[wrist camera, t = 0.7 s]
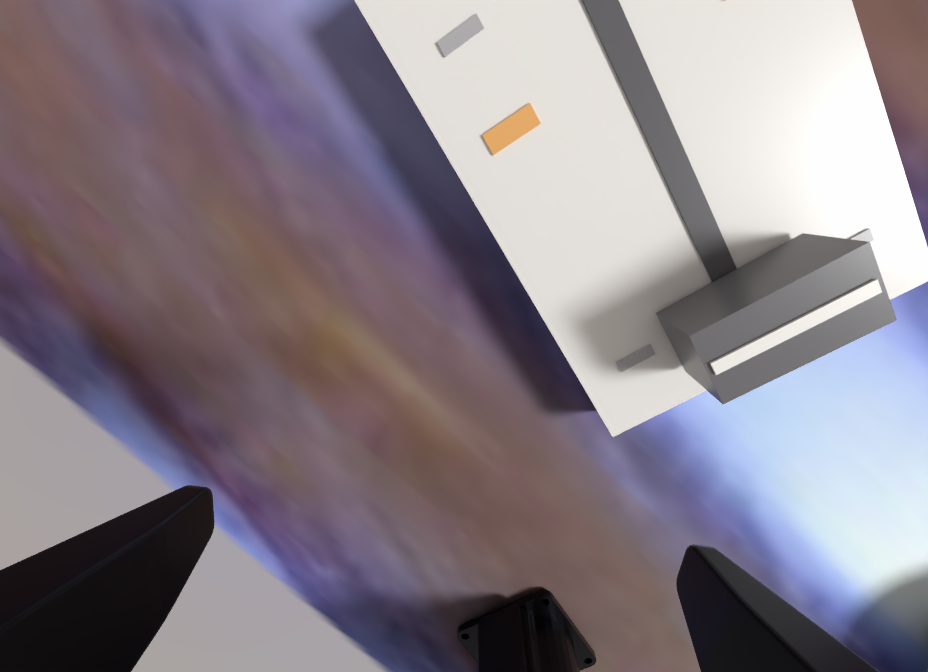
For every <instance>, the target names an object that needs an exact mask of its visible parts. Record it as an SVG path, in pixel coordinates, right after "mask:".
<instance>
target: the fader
mask: <svg viewBox="0 0 928 672" xmlns="http://www.w3.org/2000/svg"><path fill="white" fill-rule="evenodd" d="M656 315H657V317H658V319H659V321H660V323H661V325H662V327H663V329H664V331H665V333H666V335H667V337H668V339H669V340H670V342H671V344H672V346H673V348H674V350H675V352H676V354H677V356H678V358H679V360H680V362H681V364H682V366H683V368H684V370H685V372H686V373H688V374H689V375H690V376H691V377H692V378H693V379H695V380H696V381H697V382H698V383H699V384H700V385H701V386H703V387H704V388H705V389H706V390H707V391H708V392H709V393H711V394H712V395H713V396H714V397H715V398H716V399H718V400H719V401H720V402H721V403H722V404H725V403H727V402H729V401H731V400H733V399H735V398H737V397H739V396H741V395H743V394H745V393H747V392H749V391H751V390H753V389H756V388H758V387H760V386H762V385H764V384H766V383H768V382H770V381H772V380H774V379H776V378H778V377H780V376H782V375H784V374H786V373H789V372H791V371H793V370H795V369H797V368H799V367H801V366H803V365H805V364H807V363H809V362H811V361H813V360H815V359H817V358H819V357H822V356H824V355H826V354H828V353H830V352H832V351H834V350H836V349H838V348H840V347H842V346H844V345H846V344H848V343H850V342H852V341H855V340H857V339H859V338H861V337H863V336H865V335H867V334H869V333H871V332H873V331H875V330H877V329H879V328H881V327H883V326H885V325H887V324H890V323H892V322H894V321H896V320H897V319H896V316H895V314H894V311H893V308H892V305H891V302H890V299H889V296H888V293H887V290H886V287H885V284H884V282H883V279H882V276H881V273H880V270H879V267H878V264H877V261H876V258H875V255H874V253H873V250H872V247H871V244H870V242H867V241H859V240H851V239H844V238H836V237H828V236H821V235H813V234H805V233H802V234H800V235H798V236H797V237H795V238H793V239H791V240H789V241H787V242H786V243H784V244H782V245H780V246H778V247H776V248H774V249H773V250H771V251H769V252H767V253H765V254H763V255H762V256H760V257H758V258H756V259H754V260H752V261H751V262H749V263H747V264H745V265H743V266H741V267H740V268H738V269H736V270H734V271H732V272H730V273H728V274H727V275H725V276H723V277H721V278H719V279H717V280H716V281H714V282H712V283H710V284H708V285H706V286H705V287H703V288H701V289H699V290H697V291H695V292H693V293H692V294H690V295H688V296H686V297H684V298H682V299H681V300H679V301H677V302H675V303H673V304H671V305H670V306H668V307H666V308H664V309H662V310H660V311H658V312H657V313H656Z"/></svg>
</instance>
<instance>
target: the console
mask: <svg viewBox="0 0 928 672" xmlns="http://www.w3.org/2000/svg"><path fill="white" fill-rule="evenodd" d="M354 1H355V2H356V4H357V6H358V7H359V9H360V11H361V12H362V14H363V16H364V17H365V19H366V21H367V23H368V24H369V26H370V28H371V29H372V31H373V33H374V34H375V36H376V38H377V39H378V41H379V43H380V45H381V46H382V48H383V50H384V51H385V53H386V55H387V56H388V58H389V60H390V61H391V63H392V65H393V66H394V68H395V70H396V72H397V73H398V75H399V77H400V78H401V80H402V82H403V83H404V85H405V87H406V88H407V90H408V92H409V94H410V95H411V97H412V99H413V100H414V102H415V104H416V105H417V107H418V109H419V110H420V112H421V114H422V116H423V117H424V119H425V121H426V122H427V124H428V126H429V127H430V129H431V131H432V132H433V134H434V136H435V137H436V139H437V141H438V143H439V144H440V146H441V148H442V149H443V151H444V153H445V154H446V156H447V158H448V159H449V161H450V163H451V165H452V166H453V168H454V170H455V171H456V173H457V175H458V176H459V178H460V180H461V181H462V183H463V185H464V187H465V188H466V190H467V192H468V193H469V195H470V197H471V198H472V200H473V202H474V203H475V205H476V207H477V208H478V210H479V212H480V214H481V215H482V217H483V219H484V220H485V222H486V224H487V225H488V227H489V229H490V230H491V232H492V234H493V236H494V237H495V239H496V241H497V242H498V244H499V246H500V247H501V249H502V251H503V252H504V254H505V256H506V258H507V259H508V261H509V263H510V264H511V266H512V268H513V269H514V271H515V273H516V274H517V276H518V278H519V279H520V281H521V283H522V285H523V286H524V288H525V290H526V291H527V293H528V295H529V296H530V298H531V300H532V301H533V303H534V305H535V307H536V308H537V310H538V312H539V313H540V315H541V317H542V318H543V320H544V322H545V323H546V325H547V327H548V329H549V330H550V332H551V334H552V335H553V337H554V339H555V340H556V342H557V344H558V345H559V347H560V349H561V350H562V352H563V354H564V356H565V357H566V359H567V361H568V362H569V364H570V366H571V367H572V369H573V371H574V372H575V374H576V376H577V378H578V379H579V381H580V383H581V384H582V386H583V388H584V389H585V391H586V393H587V394H588V396H589V398H590V400H591V401H592V403H593V405H594V406H595V408H596V410H597V411H598V413H599V415H600V416H601V418H602V420H603V421H604V423H605V425H606V427H607V428H608V430H609V432H610V433H611V435H612V437H614V436H616V435H618V434H620V433H622V432H624V431H626V430H628V429H630V428H632V427H634V426H636V425H638V424H640V423H642V422H644V421H646V420H648V419H650V418H652V417H654V416H656V415H658V414H660V413H663V412H665V411H667V410H669V409H671V408H673V407H675V406H677V405H679V404H681V403H683V402H685V401H687V400H689V399H691V398H693V397H695V396H697V395H699V394H701V393H703V392H705V391H707V390H706V389H705V388H704V387H703V386H701V385H700V384H699V383H698V382H697V381H696V380H695V379H693V378H692V377H691V376H690V375H689V374H688V373H686V372H685V370H684V368H683V366H682V364H681V362H680V360H679V358H678V356H677V354H676V352H675V350H674V348H673V346H672V344H671V342H670V340H669V339H668V337H667V335H666V333H665V331H664V329H663V327H662V325H661V323H660V321H659V319H658V317H657V315H656V313H657V312H658V311H660V310H662V309H664V308H666V307H668V306H670V305H671V304H673V303H675V302H677V301H679V300H681V299H682V298H684V297H686V296H688V295H690V294H692V293H693V292H695V291H697V290H699V289H701V288H703V287H705V286H706V285H708V284H710V283H712V282H714V281H716V280H717V279H719V278H721V277H723V276H725V275H727V274H728V273H730V272H732V271H734V270H736V269H738V268H740V267H741V266H743V265H745V264H747V263H749V262H751V261H752V260H754V259H756V258H758V257H760V256H762V255H763V254H765V253H767V252H769V251H771V250H773V249H774V248H776V247H778V246H780V245H782V244H784V243H786V242H787V241H789V240H791V239H793V238H795V237H797V236H798V235H800V234H802V233H805V234H813V235H821V236H828V237H836V238H844V239H851V240H859V241H867V242H870V244H871V247H872V250H873V253H874V255H875V258H876V261H877V264H878V267H879V270H880V273H881V276H882V279H883V282H884V284H885V287H886V290H887V293H888V296H889V299H890V300H891V299H893V298H895V297H897V296H899V295H901V294H903V293H905V292H907V291H909V290H911V289H913V288H915V287H917V286H919V285H921V284H923V283H925V282H927V281H928V247H927V244H926V241H925V237H924V234H923V231H922V228H921V224H920V221H919V218H918V215H917V211H916V208H915V205H914V202H913V198H912V195H911V192H910V189H909V185H908V182H907V179H906V176H905V172H904V169H903V166H902V163H901V159H900V156H899V153H898V150H897V146H896V143H895V140H894V137H893V133H892V130H891V127H890V124H889V120H888V117H887V114H886V110H885V107H884V104H883V101H882V97H881V94H880V91H879V88H878V84H877V81H876V78H875V75H874V71H873V68H872V65H871V62H870V58H869V55H868V52H867V49H866V45H865V42H864V39H863V36H862V32H861V29H860V26H859V23H858V19H857V16H856V13H855V10H854V6H853V3H852V0H354Z"/></svg>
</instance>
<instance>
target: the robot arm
mask: <svg viewBox="0 0 928 672" xmlns="http://www.w3.org/2000/svg"><path fill="white" fill-rule="evenodd" d="M213 529H214V511H213V496H212V492H211V490H210V489H209V488H207V487H200V486H192V485H189V486H184V487H182V488H180V489H178V490H175V491H173V492H171V493H169V494H167V495H164V496H162V497H160V498H158V499H156V500H153V501H151V502H149V503H147V504H145V505H143V506H141V507H138V508H136V509H134V510H132V511H129V512H127V513H125V514H123V515H121V516H118V517H116V518H114V519H112V520H110V521H107V522H105V523H103V524H101V525H99V526H96V527H94V528H92V529H90V530H88V531H85V532H83V533H81V534H79V535H77V536H75V537H72V538H70V539H68V540H66V541H64V542H61V543H59V544H57V545H55V546H53V547H51V548H48V549H46V550H44V551H42V552H39V553H38V554H35V555H33V556H31V557H28V558H26V559H24V560H22V561H20V562H17V563H15V564H13V565H11V566H9V567H6V568H4V569H2V570H0V672H131V671H132V669H133V668H134V666H135V665H136V663H137V662H138V660H139V659H140V657H141V656H142V654H143V653H144V651H145V650H146V648H147V647H148V645H149V644H150V642H151V641H152V639H153V638H154V636H155V635H156V633H157V632H158V630H159V629H160V627H161V626H162V624H163V623H164V621H165V619H166V618H167V616H168V614H169V612H170V611H171V609H172V607H173V605H174V604H175V602H176V600H177V598H178V596H179V594H180V593H181V591H182V589H183V587H184V585H185V584H186V582H187V580H188V578H189V576H190V574H191V573H192V570H193V569H194V567H195V565H196V563H197V562H198V560H199V558H200V556H201V554H202V552H203V550H204V549H205V547H206V545H207V543H208V541H209V539H210V538H211V535H212V533H213ZM677 592H678V596H679V599H680V602H681V606H682V609H683V612H684V616H685V619H686V622H687V626H688V629H689V632H690V636H691V639H692V643H693V646H694V649H695V653H696V656H697V659H698V663H699V666H700V669H701V672H879V671H878V670H877V669H875V668H874V667H873V666H871V665H870V664H869V663H867V662H866V661H865V660H863V659H862V658H861V657H859V656H858V655H857V654H855V653H854V652H853V651H851V650H850V649H849V648H847V647H846V646H845V645H843V644H842V643H841V642H839V641H838V640H837V639H835V638H834V637H833V636H831V635H830V634H829V633H827V632H826V631H825V630H823V629H822V628H821V627H819V626H818V625H817V624H815V623H814V622H813V621H811V620H810V619H809V618H807V617H806V616H805V615H803V614H802V613H801V612H799V611H798V610H797V609H795V608H794V607H793V606H791V605H790V604H789V603H787V602H786V601H785V600H783V599H782V598H781V597H779V596H778V595H777V594H775V593H774V592H773V591H771V590H770V589H769V588H767V587H766V586H765V585H763V584H762V583H761V582H759V581H758V580H757V579H755V578H754V577H753V576H751V575H750V574H749V573H747V572H746V571H745V570H743V569H742V568H741V567H739V566H738V565H737V564H735V563H734V562H733V561H731V560H730V559H729V558H727V557H726V556H725V555H723V554H722V553H721V552H719V551H718V550H717V549H715V548H713V547H710V546H703V545H690V546H689V547H688V548H687V550H686V552H685V555H684V558H683V561H682V564H681V567H680V570H679V573H678V576H677ZM543 599H545V600H543ZM457 638H458V640H459V641H460V642H461V643H462V644H463V646H464V647H465V648H466V649H467V650H468V652H469V653H470V654H471V655H472V656H473V658H474V659H475V660H476V661H477V662H478V672H580V670H583V669H585V668H588V667H590V666H593V665H594V664H595V663H596V657H595V653H594V651H593V650H592V648H591V647H590V646H589V644H588V643H587V641H586V640H585V639H584V637H583V636H582V635H581V633H580V632H579V630H578V629H577V628H576V626H575V625H574V623H573V622H572V621H571V619H570V618H569V617H568V615H567V614H566V612H565V611H564V610H563V608H562V607H561V606H560V604H559V603H558V601H557V600H556V599H555V597H554V596H553V594H552V593H551V592H550V591H548V590H541V591H538V592H536V593H534V594H531V595H529V596H527V597H524V598H522V599H520V600H518V601H515V602H513V603H511V604H508V605H506V606H504V607H501V608H499V609H497V610H495V611H492V612H490V613H488V614H485V615H483V616H481V617H479V618H476V619H474V620H472V621H469V622H467V623H465V624H463V625H461V626H459V627H458V631H457Z"/></svg>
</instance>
